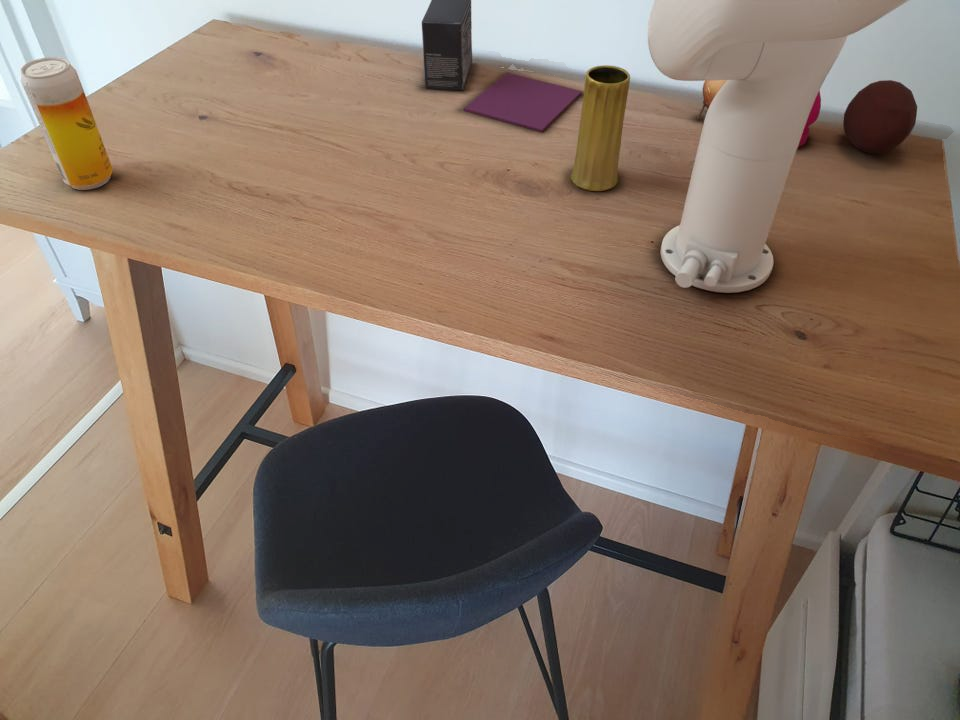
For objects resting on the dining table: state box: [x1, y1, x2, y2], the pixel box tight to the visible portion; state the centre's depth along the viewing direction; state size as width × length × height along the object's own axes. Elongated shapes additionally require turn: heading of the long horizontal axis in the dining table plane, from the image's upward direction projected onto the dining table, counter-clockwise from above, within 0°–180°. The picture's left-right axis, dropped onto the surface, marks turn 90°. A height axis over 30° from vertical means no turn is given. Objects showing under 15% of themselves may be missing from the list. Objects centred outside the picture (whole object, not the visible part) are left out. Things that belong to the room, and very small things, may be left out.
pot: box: [697, 80, 727, 121], centre depth 111 cm, size 6×8×6 cm
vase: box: [570, 64, 631, 192], centre depth 96 cm, size 6×6×14 cm
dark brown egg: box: [842, 79, 918, 155], centre depth 104 cm, size 9×12×9 cm
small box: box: [421, 0, 473, 92], centre depth 119 cm, size 11×6×10 cm, turn 173°
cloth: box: [463, 72, 583, 133], centre depth 116 cm, size 14×13×1 cm
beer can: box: [20, 56, 114, 191], centre depth 94 cm, size 6×6×15 cm
